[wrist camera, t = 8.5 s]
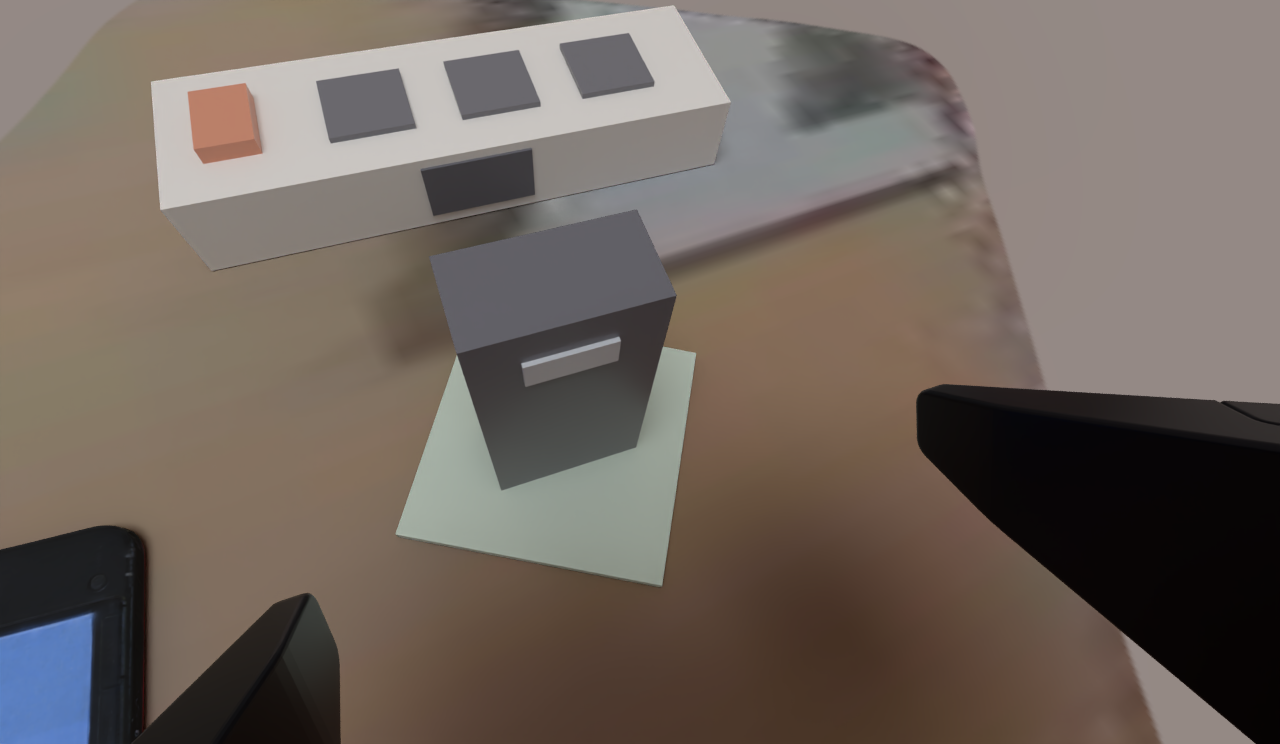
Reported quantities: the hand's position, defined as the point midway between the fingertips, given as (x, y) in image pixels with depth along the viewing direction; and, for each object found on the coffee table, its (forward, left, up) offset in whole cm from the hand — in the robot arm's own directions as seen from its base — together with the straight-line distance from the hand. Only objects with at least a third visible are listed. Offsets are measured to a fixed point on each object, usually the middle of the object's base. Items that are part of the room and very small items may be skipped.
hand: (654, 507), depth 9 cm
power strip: (+10, -18, -14) cm, 25 cm away
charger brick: (+3, -6, -13) cm, 15 cm away
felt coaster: (+3, -6, -14) cm, 15 cm away
